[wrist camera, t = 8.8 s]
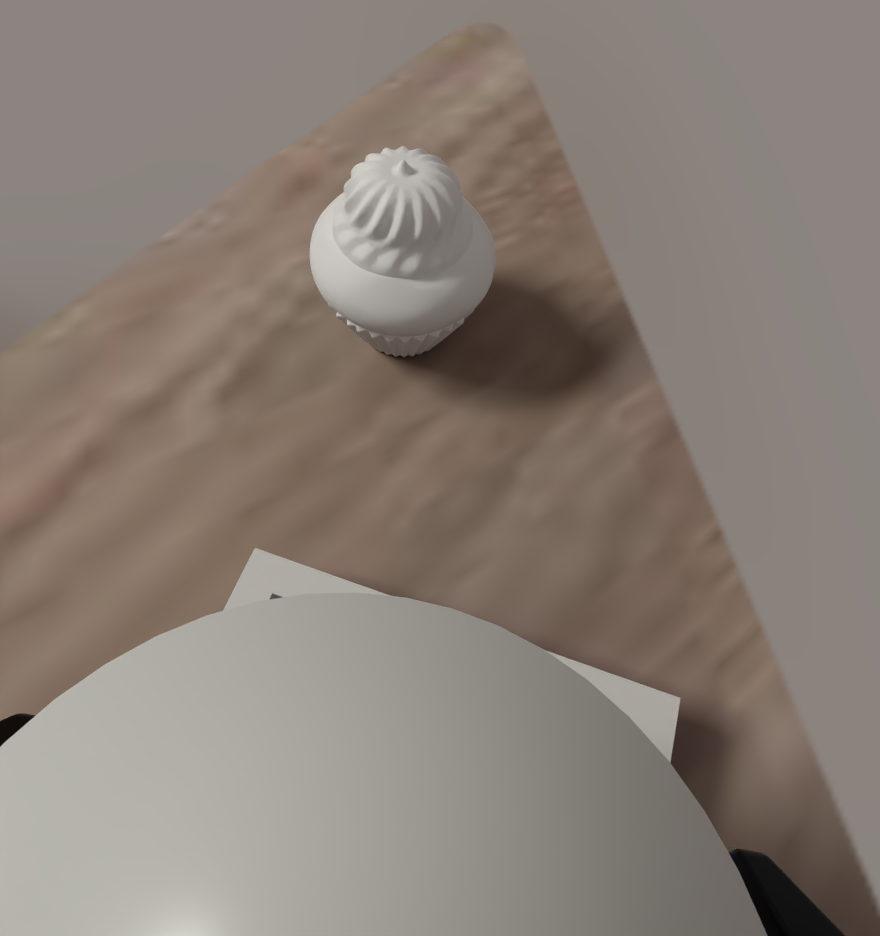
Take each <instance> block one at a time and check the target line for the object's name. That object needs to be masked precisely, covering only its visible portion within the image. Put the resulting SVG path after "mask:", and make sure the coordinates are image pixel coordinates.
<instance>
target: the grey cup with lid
mask: <svg viewBox="0 0 880 936" xmlns="http://www.w3.org/2000/svg"><path fill="white" fill-rule="evenodd" d="M0 936H767V933H766V931H765V929H764V927H763V924H762V922H761V920H760V918H759V915H758V913H757V911H756V909H755V906H754V904H753V902H752V900H751V897H750V895H749V893H748V891H747V888H746V886H745V884H744V881H743V879H742V877H741V875H740V872H739V870H738V869H737V867H736V865H735V863H734V862H733V860H732V858H731V856H730V855H729V853H728V851H727V849H726V847H725V846H724V844H723V842H722V840H721V839H720V837H719V835H718V833H717V832H716V830H715V828H714V826H713V825H712V823H711V821H710V819H709V818H708V816H707V814H706V812H705V811H704V809H703V808H702V807H701V805H700V804H699V803H698V801H697V800H696V798H695V797H694V796H693V794H692V793H691V791H690V790H689V789H688V787H687V786H686V784H685V783H684V782H683V780H682V779H681V777H680V776H679V775H678V773H677V772H676V770H675V769H674V768H673V766H672V765H671V763H670V762H669V761H668V760H667V758H666V757H665V756H664V755H663V754H662V753H661V752H660V751H659V750H658V748H657V747H656V746H655V745H654V744H653V743H652V742H651V741H650V739H649V738H648V737H647V736H646V735H645V734H644V733H643V732H642V731H641V729H640V728H639V727H638V726H637V725H636V724H635V723H634V722H633V720H632V719H631V718H630V717H629V716H628V715H627V714H625V713H624V712H623V711H622V710H621V709H620V708H619V707H618V706H616V705H615V704H614V703H613V702H612V701H611V700H610V699H609V698H607V697H606V696H605V695H604V694H603V693H602V692H601V691H600V690H598V689H597V688H596V687H595V686H594V685H593V684H592V683H591V682H589V681H588V680H587V679H586V678H584V677H583V676H581V675H580V674H578V673H577V672H576V671H574V670H573V669H571V668H570V667H568V666H567V665H565V664H564V663H563V662H561V661H560V660H558V659H557V658H555V657H554V656H553V655H551V654H550V653H548V652H547V651H545V650H544V649H542V648H540V647H538V646H536V645H534V644H532V643H530V642H529V641H527V640H525V639H523V638H521V637H519V636H517V635H515V634H513V633H512V632H510V631H508V630H506V629H504V628H502V627H500V626H498V625H495V624H492V623H490V622H487V621H484V620H482V619H479V618H476V617H474V616H471V615H468V614H466V613H463V612H461V611H458V610H455V609H452V608H448V607H444V606H440V605H435V604H431V603H427V602H422V601H418V600H414V599H410V598H405V597H396V596H386V595H376V594H367V593H318V594H303V595H296V596H290V597H283V598H276V599H270V600H263V601H257V602H253V603H250V604H246V605H243V606H239V607H236V608H232V609H228V610H225V611H221V612H218V613H214V614H210V615H207V616H204V617H202V618H200V619H197V620H195V621H192V622H190V623H187V624H185V625H183V626H180V627H178V628H175V629H173V630H170V631H168V632H165V633H163V634H161V635H158V636H156V637H154V638H152V639H150V640H148V641H147V642H145V643H143V644H141V645H139V646H138V647H136V648H134V649H132V650H130V651H128V652H127V653H125V654H123V655H121V656H119V657H117V658H116V659H114V660H112V661H110V662H108V663H106V664H105V665H103V666H102V667H100V668H99V669H98V670H96V671H95V672H93V673H92V674H90V675H89V676H88V677H86V678H85V679H83V680H82V681H80V682H79V683H77V684H76V685H75V686H73V687H72V688H70V689H69V690H67V691H66V692H65V693H63V694H62V695H60V696H59V697H57V698H56V699H55V700H53V701H52V702H51V703H50V704H49V705H48V706H46V707H45V708H44V709H43V710H42V711H41V712H39V713H38V714H37V715H36V716H35V717H34V718H32V719H31V720H30V721H29V722H28V723H27V724H25V725H24V726H23V727H22V728H21V729H20V730H18V731H17V732H16V733H15V734H14V735H13V736H11V737H10V738H9V739H8V740H7V741H6V742H5V743H4V744H3V745H2V746H1V747H0Z"/></svg>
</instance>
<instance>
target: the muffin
mask: <svg viewBox="0 0 880 936" xmlns="http://www.w3.org/2000/svg"><path fill="white" fill-rule="evenodd" d="M310 265H311V270H312V274H313V278H314V280H315V283H316V285H317V287H318V289H319V291H320V293H321V294H322V296H323V297H324V299H325V300H326V301H327V302H328V305H329V307H330V308H332V309H333V310H334V311H335V312H336V313H337V315H336V316H337V317H338V318H339V319H340V320H341V321H342V322H344V323H345V324H346V325H347V326H348V327H349V328H350V329H352V330H353V331H354V332H355V333H356V334H357V335H358V336H360V337H361V338H362V339H363V340H365V341H366V342H367V343H368V344H369V345H371V346H372V347H373V348H374V349H377V350H378V351H379V352H384V353H385V354H387V355H389V354H392V355H394V356H395V357H397V356H399V355H401V356H402V357H406V356H407V355H410V356H414V355H415V354H422V353H423V352H424V351H429V350H430V349H431V348H433V347H435V346H436V345H437V344H438V343H440V342H441V341H442V340H443V339H445V338H446V337H447V336H448V335H450V334H451V333H452V332H453V331H454V330H456V329H457V328H458V327H459V326H461V325H462V324H463V323H464V319H466V318H467V317H468V316H469V315H470V314H471V313H473V312H474V310H475V308H476V307H477V306H478V305H479V304H480V302H481V301H482V300H483V298H484V297H485V295H486V294H487V292H488V290H489V288H490V285H491V282H492V279H493V275H494V270H495V246H494V241H493V238H492V235H491V233H490V231H489V228H488V227H487V225H486V223H485V222H484V220H483V219H482V217H481V216H480V215H479V213H478V212H477V211H476V210H475V209H474V208H473V206H471V205H470V204H469V203H468V202H467V201H466V200H465V199H464V198H463V197H462V194H461V192H460V183H459V180H458V178H457V177H456V175H455V174H454V172H453V171H452V170H451V169H449V168H448V167H447V165H446V164H445V163H444V162H443V161H442V160H441V159H440V158H439V157H437V156H435V155H430V154H428V153H427V152H426V151H424V150H423V149H414V150H411V151H410V150H409V149H408V148H406V147H405V146H402V147H400V148H398V149H397V150H392V149H390V148H384V149H383V150H382V152H381V154H376V153H371V154H369V155H367V156H366V159H365V162H362V163H359V164H357V165H356V166H354V167H353V169H352V171H351V179H349V180H348V181H347V182H346V183H345V185H344V193H342V194H341V195H339V196H338V197H337V198H336V199H335V200H334V201H333V202H332V203H331V204H330V205H329V206H328V207H327V208H326V209H325V210H324V212H323V213H322V214H321V216H320V217H319V219H318V221H317V223H316V225H315V227H314V230H313V234H312V238H311V244H310Z"/></svg>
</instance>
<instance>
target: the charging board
mask: <svg viewBox="0 0 880 936" xmlns="http://www.w3.org/2000/svg"><path fill="white" fill-rule="evenodd" d="M318 593H367V594H376V595H386V596H390V595H387V594H384V593H381V592H378V591H376V590H373V589H370V588H367V587H364V586H361V585H359V584H356V583H353V582H350V581H347V580H344V579H342V578H339V577H336V576H333V575H330V574H327V573H325V572H322V571H319V570H316V569H313V568H310V567H308V566H305V565H302V564H299V563H296V562H293V561H291V560H288V559H285V558H282V557H279V556H276V555H274V554H271V553H268V552H265V551H262V550H259V549H257V548H255V549H254V551H253V553H252V555H251V557H250V559H249V561H248V563H247V565H246V567H245V569H244V570H243V572H242V574H241V576H240V578H239V580H238V582H237V584H236V586H235V588H234V590H233V592H232V594H231V596H230V598H229V600H228V602H227V604H226V606H225V608H224V610H223V611H225V610H228V609H232V608H236V607H239V606H243V605H246V604H250V603H253V602H257V601H263V600H270V599H276V598H283V597H290V596H296V595H303V594H318ZM545 651H546V650H545ZM547 652H548V651H547ZM548 653H550V654H551V655H553V656H554V657H555V658H557V659H558V660H560V661H561V662H563V663H564V664H565V665H567V666H568V667H570V668H571V669H573V670H574V671H576V672H577V673H578V674H580V675H581V676H583V677H584V678H586V679H587V680H588V681H589V682H591V683H592V684H593V685H594V686H595V687H596V688H597V689H598V690H600V691H601V692H602V693H603V694H604V695H605V696H606V697H607V698H609V699H610V700H611V701H612V702H613V703H614V704H615V705H616V706H618V707H619V708H620V709H621V710H622V711H623V712H624V713H625V714H627V715H628V716H629V717H630V718H631V719H632V720H633V722H634V723H635V724H636V725H637V726H638V727H639V728H640V729H641V731H642V732H643V733H644V734H645V735H646V736H647V737H648V738H649V739H650V741H651V742H652V743H653V744H654V745H655V746H656V747H657V748H658V750H659V751H660V752H661V753H662V754H663V755H664V756H665V757H666V758H667V760H668V761H669V762H671V756H672V749H673V743H674V737H675V730H676V724H677V717H678V711H679V704H680V698H679V697H676V696H673V695H670V694H667V693H665V692H662V691H659V690H656V689H653V688H650V687H648V686H645V685H642V684H639V683H636V682H633V681H631V680H628V679H625V678H622V677H619V676H616V675H614V674H611V673H608V672H605V671H602V670H599V669H597V668H594V667H591V666H588V665H585V664H582V663H580V662H577V661H574V660H571V659H568V658H565V657H563V656H560V655H557V654H554V653H551V652H548Z"/></svg>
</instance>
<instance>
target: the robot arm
mask: <svg viewBox="0 0 880 936" xmlns="http://www.w3.org/2000/svg"><path fill="white" fill-rule="evenodd" d="M34 717H35V715H30V714H16V715H13V716H10V717H8V718H6V719H4V720H1V721H0V747H1V746H2V745H3V744H4V743H5V742H6V741H7V740H8V739H9V738H10V737H11V736H13V735H14V734H15V733H16V732H17V731H18V730H20V729H21V728H22V727H23V726H24V725H25V724H27V723H28V722H29V721H30V720H31V719H32V718H34ZM729 855H730V856H731V858H732V860H733V862H734V863H735V865H736V867H737V869H738V870H739V872H740V875H741V877H742V879H743V881H744V884H745V886H746V888H747V891H748V893H749V895H750V897H751V900H752V902H753V904H754V906H755V909H756V911H757V913H758V915H759V918H760V920H761V922H762V924H763V927H764V929H765V931H766V933H767V936H845V935H844V934H843V933H842V932H841V931H840V930H839V929H838V928H837V927H836V926H835V925H834V924H833V923H832V922H831V921H830V920H829V919H828V918H827V917H826V916H825V914H824V913H823V912H822V911H821V910H820V909H819V908H818V907H817V906H816V905H815V904H814V903H813V902H812V901H811V900H810V899H809V898H808V897H807V896H806V895H805V894H804V893H803V892H802V891H801V890H800V889H799V888H798V887H797V886H796V885H795V884H794V883H793V882H792V881H791V879H790V878H789V877H788V876H787V875H786V874H785V873H784V872H783V871H782V870H781V869H780V868H779V867H778V866H777V865H776V864H775V863H774V862H773V861H772V860H771V859H770V858H769V857H768V856H766V855H764V854H762V853H758V852H753V851H748V850H743V849H732V850H731V851H730V852H729Z"/></svg>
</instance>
